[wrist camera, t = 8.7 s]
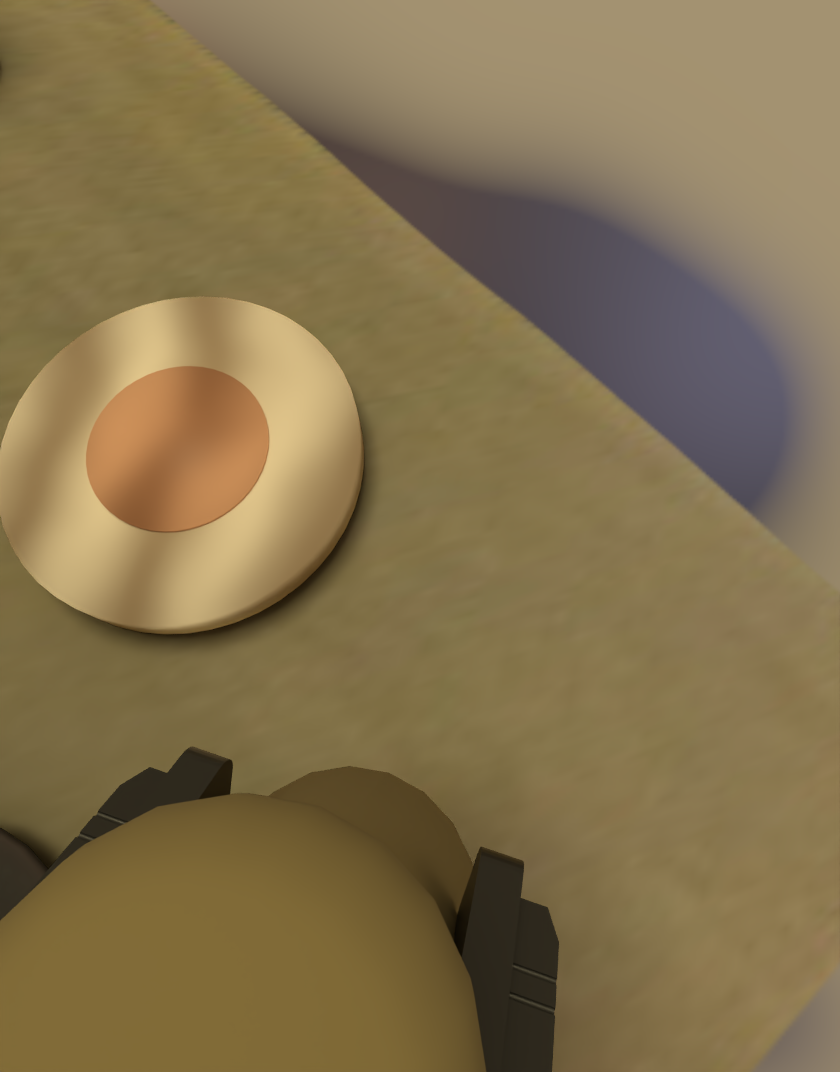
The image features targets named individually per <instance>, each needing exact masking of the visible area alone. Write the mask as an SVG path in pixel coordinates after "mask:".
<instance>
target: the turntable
mask: <svg viewBox="0 0 840 1072" xmlns="http://www.w3.org/2000/svg"><path fill="white" fill-rule="evenodd" d="M363 469H364V444H363V437H362V430H361V424H360V420H359V416H358V411H357V408H356V404H355V401H354V398H353V394H352V391H351V388H350V386H349V384H348V382H347V380H346V378H345V376H344V373H343V371H342V370H341V368H340V367H339V365H338V364H337V362H336V361H335V359H334V358H333V356H332V355H331V354H330V353H329V351H328V350H327V349H326V348H325V347H324V346H323V345H322V344H321V343H320V342H319V340H318V339H316V338H315V337H314V336H313V335H312V334H310V333H309V332H308V331H307V330H306V329H304V328H303V327H302V326H300V325H298V324H297V323H295V322H294V321H292V320H290V319H289V318H287V317H286V316H283V315H281V314H279V313H277V312H275V311H273V310H270V309H268V308H265V307H262V306H259V305H256V304H253V303H249V302H246V301H240V300H235V299H230V298H220V297H206V296H205V297H183V298H176V299H169V300H162V301H158V302H154V303H150V304H147V305H143V306H139V307H137V308H134V309H131V310H128V311H126V312H123V313H120V314H118V315H116V316H114V317H112V318H110V319H108V320H106V321H104V322H102V323H100V324H98V325H96V326H95V327H93V328H92V329H90V330H88V331H87V332H85V333H84V334H82V335H80V336H79V337H78V338H76V339H75V340H74V341H73V342H71V343H70V344H69V345H67V346H66V347H65V348H64V349H62V350H61V351H60V352H59V353H58V354H57V355H56V356H55V357H54V358H53V359H52V360H51V361H50V362H49V363H48V364H47V365H46V366H45V367H44V368H43V369H42V371H41V372H40V373H39V374H38V375H37V377H36V378H35V379H34V380H33V381H32V383H31V384H30V386H29V387H28V389H27V390H26V392H25V393H24V395H23V396H22V398H21V399H20V401H19V403H18V405H17V407H16V409H15V411H14V413H13V415H12V417H11V419H10V421H9V424H8V427H7V430H6V432H5V435H4V438H3V441H2V445H1V450H0V516H1V520H2V524H3V528H4V530H5V532H6V535H7V537H8V540H9V542H10V544H11V547H12V548H13V550H14V552H15V553H16V555H17V556H18V558H19V560H20V561H21V563H22V564H23V566H24V567H25V568H26V569H27V571H28V572H29V573H30V574H31V575H32V576H33V577H34V578H35V580H36V581H37V582H38V583H39V584H40V585H42V586H43V587H44V588H45V589H47V590H48V591H49V592H50V593H51V594H53V595H54V596H55V597H56V598H58V599H60V600H62V601H63V602H65V603H67V604H68V605H70V606H72V607H73V608H75V609H77V610H79V611H81V612H84V613H86V614H88V615H90V616H92V617H95V618H97V619H100V620H102V621H104V622H107V623H109V624H112V625H114V626H117V627H122V628H126V629H130V630H134V631H138V632H146V633H156V634H186V633H193V632H199V631H206V630H212V629H215V628H219V627H222V626H226V625H229V624H233V623H236V622H238V621H241V620H243V619H245V618H248V617H250V616H252V615H255V614H257V613H259V612H261V611H263V610H264V609H266V608H268V607H270V606H271V605H273V604H275V603H276V602H278V601H280V600H281V599H283V598H284V597H285V596H287V595H288V594H289V593H291V592H292V591H293V590H295V589H296V588H297V587H299V586H300V585H301V584H302V583H303V582H304V581H305V580H306V579H307V578H308V577H309V576H310V575H311V574H312V573H313V572H315V571H316V570H317V569H318V568H319V566H320V565H321V564H322V563H323V561H324V560H325V559H326V558H327V556H328V555H329V554H330V553H331V551H332V550H333V549H334V547H335V545H336V544H337V542H338V541H339V539H340V537H341V536H342V534H343V532H344V531H345V529H346V527H347V525H348V522H349V520H350V518H351V516H352V513H353V511H354V509H355V505H356V502H357V499H358V495H359V492H360V488H361V482H362V475H363Z"/></svg>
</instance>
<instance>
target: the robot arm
mask: <svg viewBox="0 0 840 1072" xmlns="http://www.w3.org/2000/svg"><path fill="white" fill-rule="evenodd" d="M232 769H233V763H232V760H230V759H227V758H224V757H221V756H218V755H216V754H213V753H210V752H207V751H204V750H201V749H198V748H195V747H189V748H188V749H187V750H186V751H184V753H183V754H182V755H181V756H180V758H179V759H178V760H177V761H176V763H175V764H174V765H173V766H172V768H171V769H170V770H169V772H168V773H165V772H162V771H159V770H157V769H154V768H151V767H149V768H148V769H146V770H144V771H143V772H141V773H139V774H138V775H136V776H134V777H133V778H131V779H130V780H128V781H126V782H125V783H123V784H121V785H120V786H119V787H118V788H117V789H116V791H115V792H114V793H113V794H112V795H111V796H110V798H109V799H108V800H107V801H106V802H105V803H104V805H103V806H102V807H101V808H100V809H99V811H98V814H97V815H96V816H93V818H92V819H91V820H90V821H89V822H88V823H87V825H86V826H85V827H84V828H83V829H82V830H81V832H80V835H79V836H78V837H75V839H74V840H73V841H72V842H71V843H70V844H69V846H68V847H67V848H66V849H65V850H64V851H63V853H62V854H61V855H60V856H59V857H58V859H57V860H56V861H55V862H54V863H53V864H52V866H51V867H50V868H49V869H48V870H47V871H46V873H45V874H44V875H43V876H42V877H41V878H40V880H39V881H38V882H37V883H36V884H35V885H34V887H33V888H32V889H31V890H30V891H29V892H28V894H29V893H30V892H31V891H32V890H33V889H34V888H35V887H36V886H37V885H38V884H39V883H41V882H42V881H43V880H44V879H45V878H46V877H47V876H48V875H49V874H50V873H51V872H52V871H53V870H54V869H55V868H56V867H57V866H59V865H60V864H61V863H62V862H63V861H64V860H65V859H67V858H68V857H69V856H70V855H72V854H73V853H74V852H75V851H77V850H78V849H79V848H80V847H82V846H83V845H84V844H86V843H88V842H90V841H92V840H94V839H96V838H98V837H100V836H102V835H104V834H106V833H107V832H109V831H111V830H113V829H115V828H117V827H119V826H121V825H123V824H125V823H127V822H129V821H131V820H133V819H135V818H136V817H138V816H140V815H142V814H144V813H146V812H148V811H150V810H152V809H154V808H156V807H158V806H163V805H169V804H175V803H181V802H187V801H193V800H199V799H205V798H211V797H217V796H223V795H229V794H230V789H231V779H232ZM523 872H524V862H523V861H522V860H519V859H516V858H513V857H510V856H507V855H504V854H501V853H498V852H495V851H492V850H490V849H487V848H484V847H480V849H479V852H478V854H477V857H476V860H475V863H474V866H473V869H472V872H471V874H470V877H469V880H468V883H467V886H466V889H465V892H464V895H463V897H462V900H461V903H460V906H459V910H458V913H457V919H456V928H455V936H454V943H455V945H456V947H457V949H458V952H459V954H460V956H461V958H462V960H463V962H464V965H465V967H466V969H467V971H468V973H469V975H470V978H471V982H472V987H473V991H474V997H475V1003H476V1009H477V1016H478V1022H479V1028H480V1035H481V1041H482V1048H483V1054H484V1060H485V1067H486V1072H552V1060H553V1042H554V1023H555V1016H554V1011H555V1005H556V986H557V985H556V979H557V968H558V949H559V941H558V938H557V935H556V932H555V929H554V926H553V923H552V920H551V916H550V913H549V910H548V907H545V906H542V905H539V904H536V903H533V902H530V901H528V900H525V899H522V898H521V889H522V881H523ZM28 894H27V895H28ZM27 895H26V896H27ZM26 896H25V897H26ZM25 897H24V898H25ZM24 898H23V899H24ZM23 899H22V900H23Z"/></svg>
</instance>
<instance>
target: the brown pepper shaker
mask: <svg viewBox="0 0 840 1072" xmlns="http://www.w3.org/2000/svg"><path fill="white" fill-rule="evenodd" d="M472 869H473V864H472V861H471V859H470V857H469V855H468V853H467V851H466V849H465V847H464V845H463V843H462V841H461V839H460V837H459V835H458V832H457V830H456V828H455V826H454V824H453V823H452V822H451V820H450V819H449V818H448V817H447V816H446V815H445V814H444V813H443V812H442V811H441V810H440V809H439V808H438V807H437V805H436V804H435V803H434V802H433V801H432V800H431V799H430V798H429V797H428V796H427V795H426V794H425V793H424V792H423V791H421V790H419V789H417V788H415V787H414V786H412V785H410V784H408V783H406V782H405V781H403V780H401V779H399V778H397V777H395V776H394V775H392V774H390V773H387V772H381V771H375V770H369V769H363V768H357V767H351V766H348V767H342V768H336V769H330V770H324V771H318V772H312V773H309V774H307V775H305V776H303V777H301V778H299V779H298V780H296V781H294V782H292V783H290V784H288V785H286V786H284V787H282V788H280V789H278V790H277V791H275V792H273V793H272V794H271V795H269V796H262V795H256V794H250V793H240V794H229V795H223V796H217V797H211V798H205V799H199V800H193V801H187V802H181V803H175V804H169V805H163V806H158V807H156V808H154V809H152V810H150V811H148V812H146V813H144V814H142V815H140V816H138V817H136V818H135V819H133V820H131V821H129V822H127V823H125V824H123V825H121V826H119V827H117V828H115V829H113V830H111V831H109V832H107V833H106V834H104V835H102V836H100V837H98V838H96V839H94V840H92V841H90V842H88V843H86V844H84V845H83V846H82V847H80V848H79V849H78V850H77V851H75V852H74V853H73V854H72V855H70V856H69V857H68V858H67V859H65V860H64V861H63V862H62V863H61V864H60V865H59V866H57V867H56V868H55V869H54V870H53V871H52V872H51V873H50V874H49V875H48V876H47V877H46V878H45V879H44V880H43V881H42V882H41V883H39V884H38V885H37V886H36V887H35V888H34V889H33V890H32V891H31V892H30V893H29V894H28V895H27V896H26V897H25V898H24V899H23V900H21V901H20V902H19V903H18V904H17V905H16V906H15V907H14V908H13V909H12V910H11V911H10V912H9V913H8V914H7V915H6V916H5V917H3V918H2V919H1V920H0V1072H486V1067H485V1060H484V1054H483V1048H482V1041H481V1035H480V1028H479V1022H478V1016H477V1009H476V1003H475V997H474V991H473V987H472V982H471V978H470V975H469V973H468V971H467V969H466V967H465V965H464V962H463V960H462V958H461V956H460V954H459V952H458V949H457V947H456V945H455V943H454V936H455V928H456V919H457V913H458V910H459V906H460V903H461V900H462V897H463V895H464V892H465V889H466V886H467V883H468V880H469V877H470V874H471V872H472Z"/></svg>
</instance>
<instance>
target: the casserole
mask: <svg viewBox="0 0 840 1072" xmlns="http://www.w3.org/2000/svg"><path fill="white" fill-rule="evenodd" d="M47 870H48V868H47V867H46V866H45V865H44V864H43V862H42V861H41V860H40V859H39V858H38V857H37V856H36V854H35V853H34V852H33V851H32V850H31V849H30V848H29V846H27V845H26V844H24V843H23V842H21V841H20V840H18V839H17V838H15V837H14V836H12V835H11V834H9V833H8V832H6V831H5V830H3V829H2V828H0V920H1V919H2V918H3V917H5V916H6V915H7V914H8V913H9V912H10V911H11V910H12V909H13V908H14V907H15V906H16V905H17V904H18V903H19V902H20V901H21V900H22V899H23V898H24V897H25V896H26V895H27V894H28V892H29V891H30V890H31V889H32V888H33V887H34V885H35V884H36V883H37V882H38V881H39V880H40V878H41V877H42V876H43V875H44V874H45V873H46V871H47Z"/></svg>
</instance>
